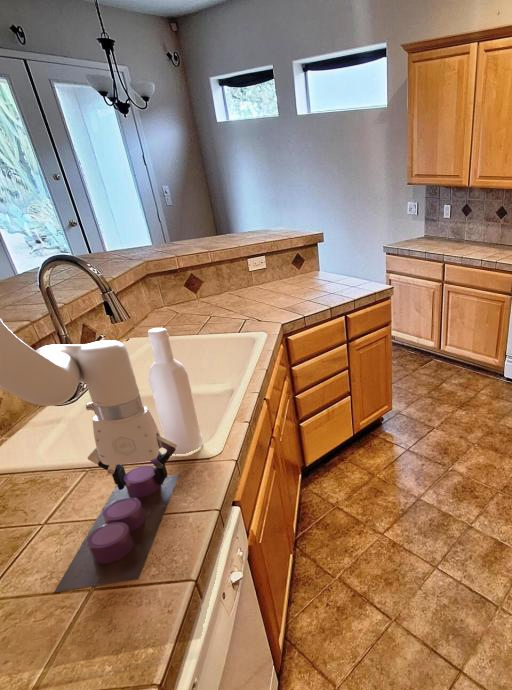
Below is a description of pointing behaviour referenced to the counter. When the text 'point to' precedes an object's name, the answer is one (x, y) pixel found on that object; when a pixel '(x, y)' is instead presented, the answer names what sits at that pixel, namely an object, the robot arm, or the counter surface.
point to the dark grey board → (130, 566)
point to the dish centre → (125, 513)
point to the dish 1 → (110, 542)
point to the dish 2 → (141, 481)
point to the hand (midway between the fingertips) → (143, 482)
